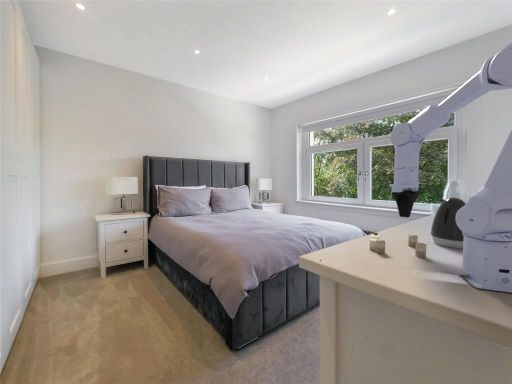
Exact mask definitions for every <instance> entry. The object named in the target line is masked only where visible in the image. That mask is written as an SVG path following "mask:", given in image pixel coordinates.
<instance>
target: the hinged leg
mask: <svg viewBox="0 0 512 384" xmlns="http://www.w3.org/2000/svg"><path fill="white" fill-rule="evenodd" d="M376 240H380V234H379V233H378V232H373V233H372V234H371V236H370V239H369V250H371V251H373V250H374V251H376Z"/></svg>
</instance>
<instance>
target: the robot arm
mask: <svg viewBox="0 0 512 384" xmlns="http://www.w3.org/2000/svg"><path fill="white" fill-rule="evenodd" d="M508 89H509V90H512V42H510V43H508V44H506V45H505V46H503V47H502V48H501V49H499V51H498V52H497V53H496V54H495V55H493V56H491V57H489V58H488V59H486V60H485V61H484V63H483V65H482V66H481V68H480V70H479V71H478V72H477V73H475V74H474V75H473V76H472V77H470V78H469V79H468V80H467V81H466V82H465V83H463V84H462V85H461V86H460V87H459V88H457V89H456V90H455V91H453V93H451V94H450V95H449V96H448V97H447V98H446V99H444V100H443V101H442V102H440V103H438V104H437V103H432V104H430V105H426V106H424V107H423V110H422V111H421V112H419V113H418V114H417V115H416V116H414V117H413V118H411V119H409V120H408V122H405V123H399V124H396V126H395V127H394V128H393V129H392V130H391V133H390V135H389V136H390V137H389V138H390V142H391V144H392V145H394V165H393V166H394V171H393V184H392V183H390V184H389V187H390V188H391V195H392V197H393V198H394V201H395V203H396V207H397V211H398V212H397V213H398V215H399V217H401V218H410V217H411V214H412V211H413V207H414V204H415V202H416V199H417V198H418V197H419V196H420V191H419V188H420V184H419V175H420V174H419V170H420V169H419V168H420V151H421V150H422V145H423V143H424V142H425V139H426V137H427V136H428V135H431V134H432V133H434V132H435V131H437V130H438V129H440V128H441V127H443V126H444V125H446V124H447V123H448V122H449V121H450V118H451V115H452V114H455V113H456V112H457V111H459V110H461V109H462V108H464V107H466V106H467V105H469V104H470V103H473V102H474V101H476V100H478V99H480V98H481V97H482V96H484V95H486V94H488V93H490V92H493V91H501V90H508ZM487 177H488V178H487V179H486V181H485V184H484V186H483V187H481V188H480V189H479V190H477V191H476V192H475V193H473V194H472V195H471V196H470V197H469V198H468V200H467V202H465V203H466V204H465V205H464V206H463V207H461V208H460V209H459V210H458V211H457V213H456V224H457V226H458V227H459V229H460V230H461V231H462V235H464V242H463V249H462V262H461V263H462V266H461V270H462V272H463V273H465V274H458V275H459V276H460V277H461V278H462V279H464V280H465V281H466V282H467V283H469V284H470V285H472V286H473V288H475V289H481V290H489V291H498V292H505V293H511V294H512V129H511V130H510V131H509V134H508V136H507V138H506V140H505V142H504V144H503V147H502V148H501V151H500V153H499V155H498V157H497V159H496V161H495V163H494V165H493V167H492V168H491V172H490V173H489V175H488V176H487Z"/></svg>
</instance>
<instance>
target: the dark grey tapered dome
mask: <svg viewBox="0 0 512 384" xmlns="http://www.w3.org/2000/svg"><path fill="white" fill-rule="evenodd" d="M439 201H440V203H441V204H440V205H439V206H438V208H437V210H436V213H435V215H434V218H433V220H432V224H431V228H430V236H431V237H432V241H433V242H434V243H435V244H436V245H438V246H442V247H446V248H447V247H448V248H452V249H462V250H463V242H464V235H462V231H461V230H460V229H459V227H458V226H457V224H456V213H457V211H458V210H459V209H460V208H461V207H463V206H464V205H465V204H466V203H467V202H465V201H464V200H463V199H461V198H459V197H449V198H446V199H444V198H441V199H439Z"/></svg>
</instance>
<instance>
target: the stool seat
mask: <svg viewBox="0 0 512 384" xmlns="http://www.w3.org/2000/svg"><path fill="white" fill-rule="evenodd" d="M407 237H408V239H407V240H408V241H407V247H410V248H415V251H414V252H415V253H414V255H415V257H417V258H422V259H425V258H427V244H426V243H423V242H419V241H418V240H419V238H418V237H419V236H418V235H417V234H408V236H407ZM374 251H375V253H376V254H380V255H384V254H386V240H384V239H379V240H376V250H374Z"/></svg>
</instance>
